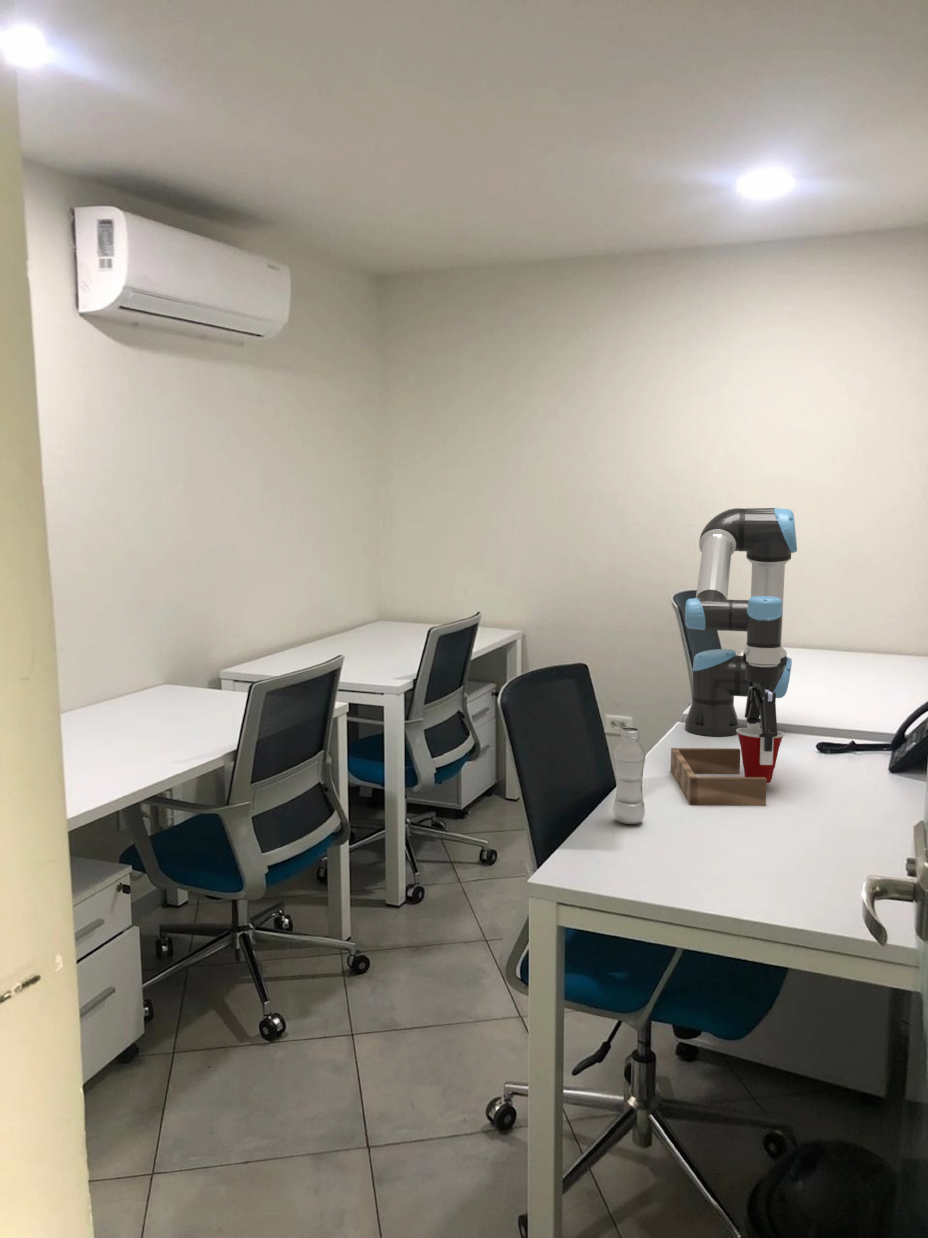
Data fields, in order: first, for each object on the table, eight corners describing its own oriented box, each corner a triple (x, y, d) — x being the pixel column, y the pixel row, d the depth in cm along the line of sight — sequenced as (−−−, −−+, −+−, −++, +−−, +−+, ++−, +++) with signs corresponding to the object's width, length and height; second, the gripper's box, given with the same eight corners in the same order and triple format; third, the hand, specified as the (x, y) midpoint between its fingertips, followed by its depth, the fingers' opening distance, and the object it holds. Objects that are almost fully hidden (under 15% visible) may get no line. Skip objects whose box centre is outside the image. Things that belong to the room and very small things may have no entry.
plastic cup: (785, 776, 224) (787, 726, 222) (780, 789, 214) (782, 738, 213) (737, 771, 228) (739, 722, 227) (730, 784, 219) (732, 733, 217)
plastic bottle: (626, 830, 195) (627, 734, 192) (606, 820, 201) (608, 727, 198) (651, 824, 198) (653, 731, 195) (631, 815, 204) (633, 724, 201)
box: (670, 771, 235) (671, 748, 234) (738, 772, 234) (738, 748, 233) (690, 805, 210) (690, 778, 209) (765, 805, 209) (766, 779, 208)
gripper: (733, 655, 229) (730, 743, 232) (760, 673, 206) (756, 772, 209) (765, 655, 229) (761, 744, 232) (795, 673, 206) (790, 772, 209)
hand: (759, 757), depth 220 cm, fingers closed on plastic cup, 11 cm apart
